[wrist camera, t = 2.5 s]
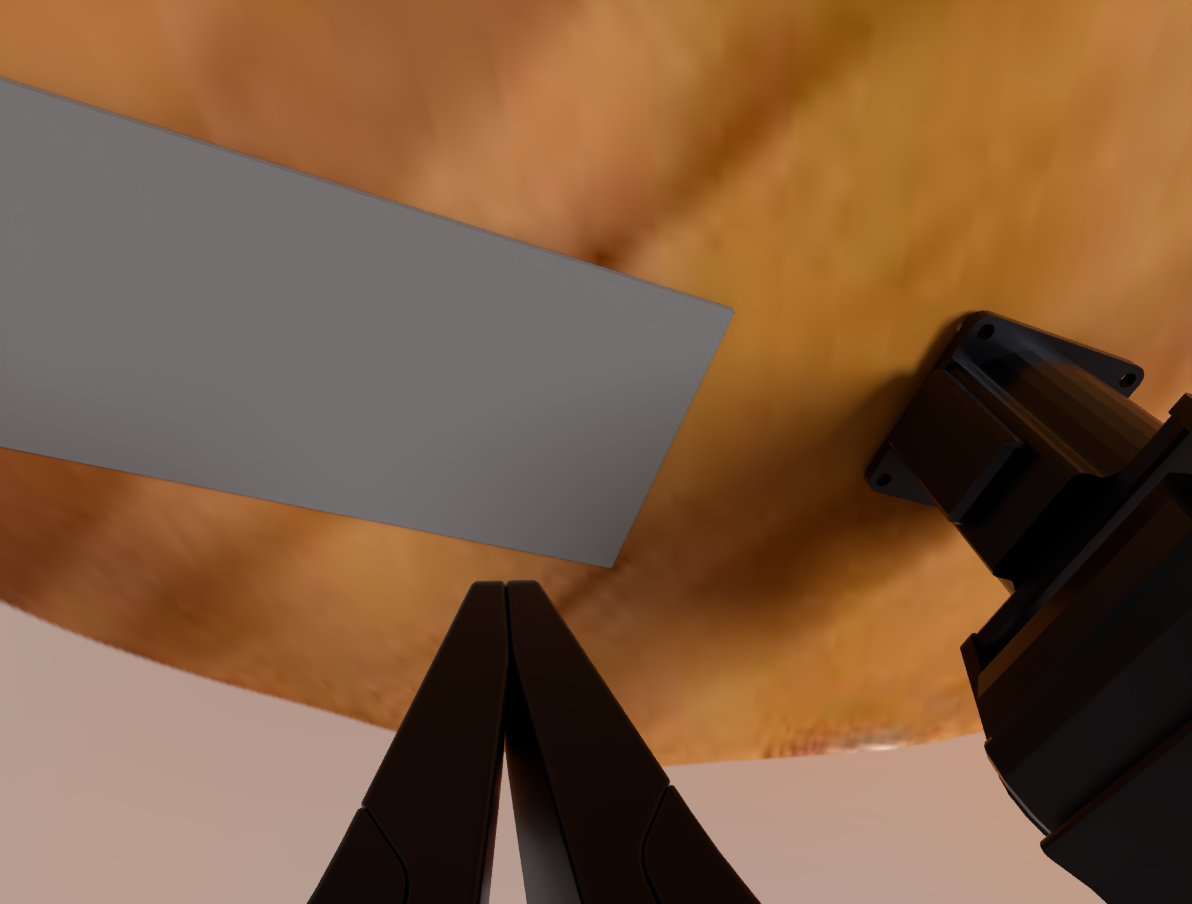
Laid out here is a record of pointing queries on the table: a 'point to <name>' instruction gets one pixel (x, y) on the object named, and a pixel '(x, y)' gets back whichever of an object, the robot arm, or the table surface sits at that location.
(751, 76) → the table surface
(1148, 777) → the robot arm
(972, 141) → the table surface
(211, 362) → the mat
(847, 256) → the table surface
